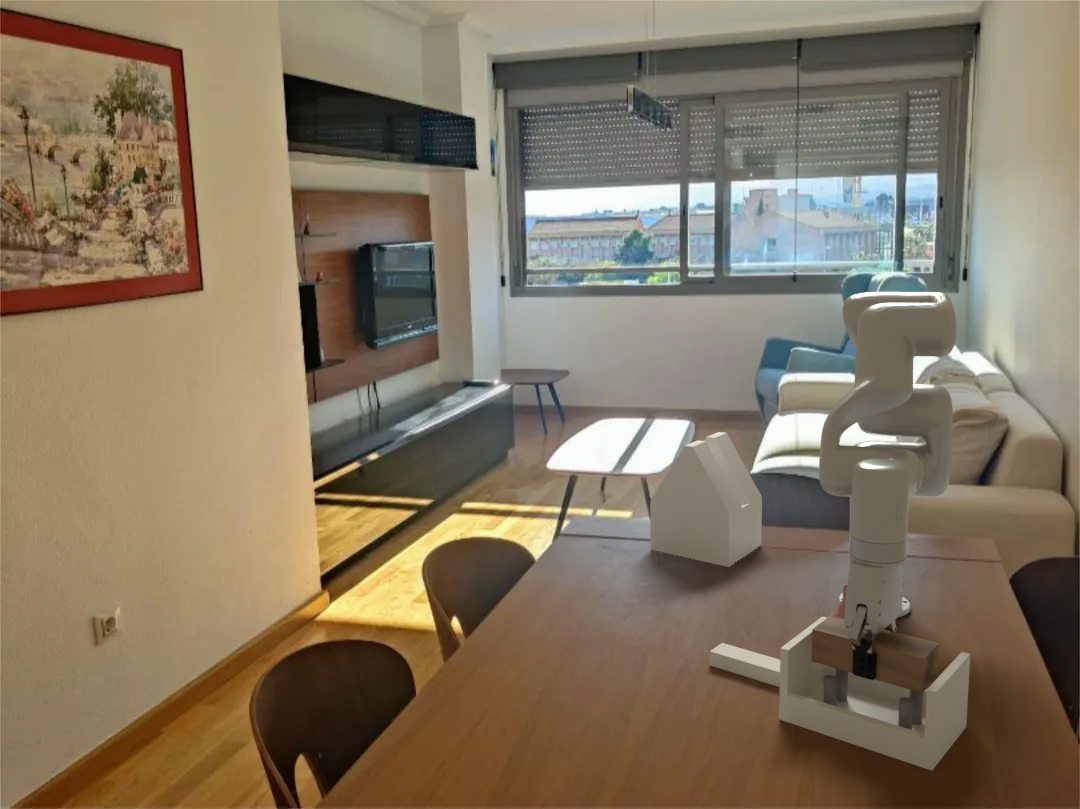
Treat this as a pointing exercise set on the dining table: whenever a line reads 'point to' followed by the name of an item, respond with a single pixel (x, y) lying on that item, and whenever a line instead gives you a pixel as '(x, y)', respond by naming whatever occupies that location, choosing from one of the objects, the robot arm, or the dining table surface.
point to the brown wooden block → (879, 654)
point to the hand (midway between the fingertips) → (873, 667)
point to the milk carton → (707, 505)
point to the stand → (873, 705)
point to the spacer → (746, 663)
